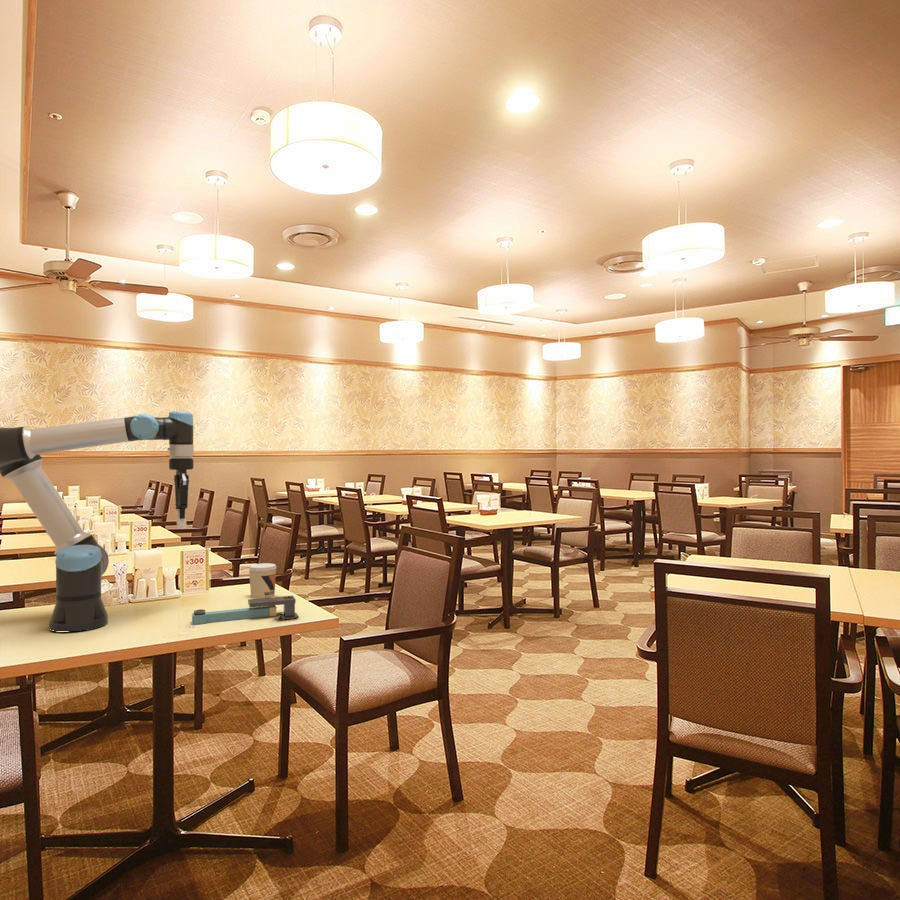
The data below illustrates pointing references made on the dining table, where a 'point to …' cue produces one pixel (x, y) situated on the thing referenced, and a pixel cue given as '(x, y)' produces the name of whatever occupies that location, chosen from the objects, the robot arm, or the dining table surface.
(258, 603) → the bracket
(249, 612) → the swing link
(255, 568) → the coffee cup
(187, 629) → the dining table surface
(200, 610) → the pintle base
